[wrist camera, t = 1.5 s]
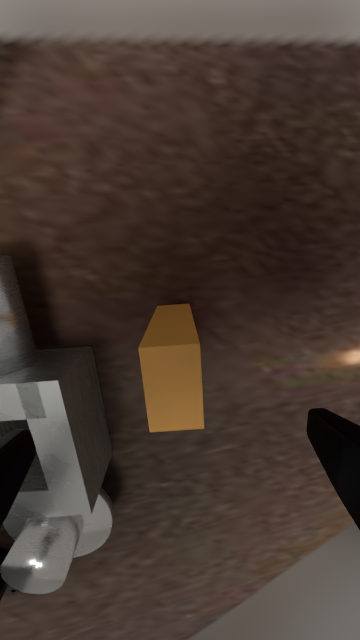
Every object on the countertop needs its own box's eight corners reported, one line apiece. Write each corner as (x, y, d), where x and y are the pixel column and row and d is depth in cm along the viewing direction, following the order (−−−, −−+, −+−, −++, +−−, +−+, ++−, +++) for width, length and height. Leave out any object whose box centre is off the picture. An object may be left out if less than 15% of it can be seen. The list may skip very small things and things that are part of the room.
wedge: (192, 352, 17) (204, 428, 9) (162, 355, 17) (149, 432, 9) (189, 303, 16) (200, 343, 8) (157, 305, 16) (138, 347, 8)
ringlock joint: (126, 517, 22) (108, 609, 16) (38, 522, 22) (-11, 616, 16) (75, 252, 15) (10, 247, 9) (-53, 262, 15) (-197, 263, 9)
